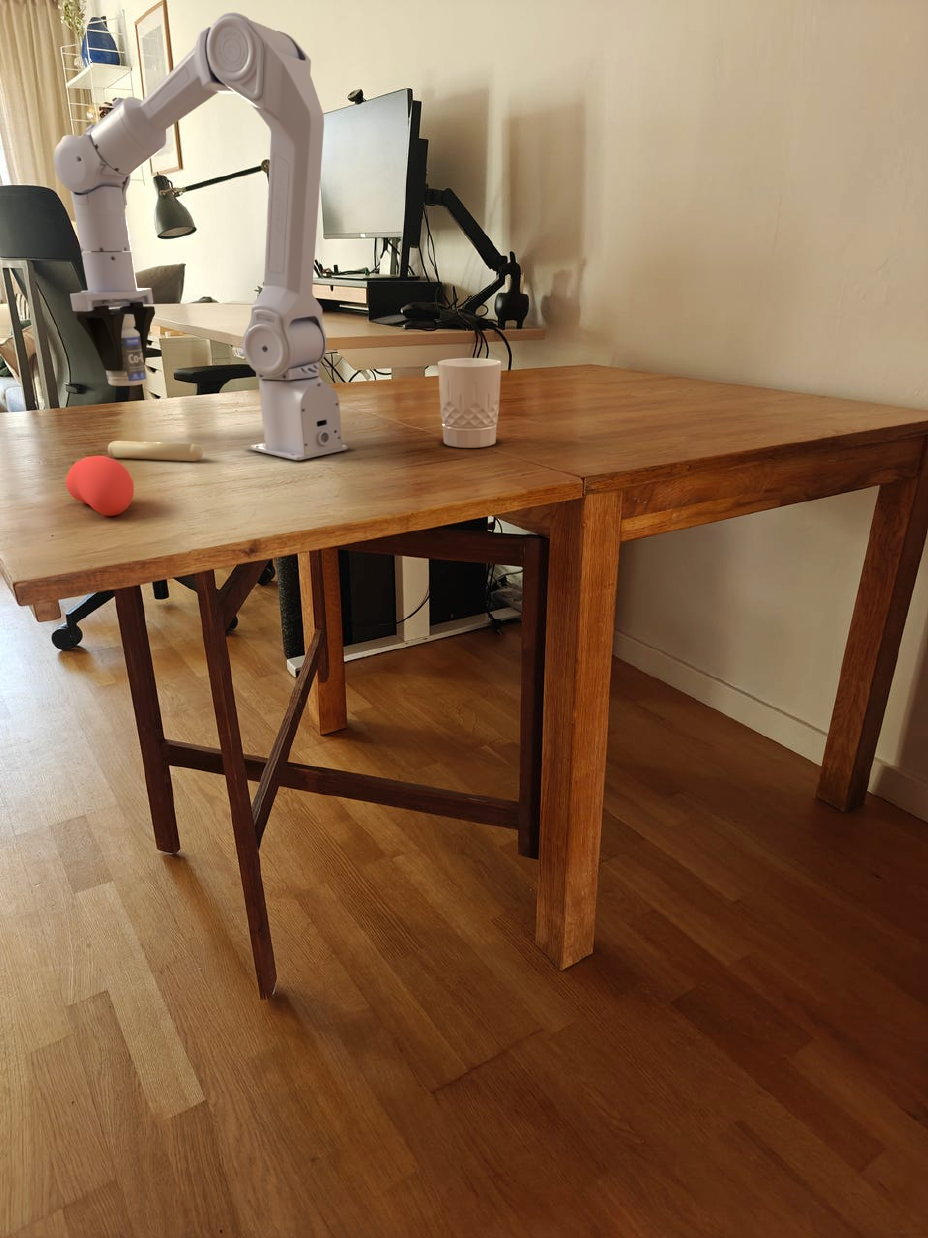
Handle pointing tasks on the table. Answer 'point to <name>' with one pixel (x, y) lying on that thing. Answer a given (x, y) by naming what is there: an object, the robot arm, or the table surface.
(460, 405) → the white cup
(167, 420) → the table surface
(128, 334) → the pill bottle
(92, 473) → the stress ball
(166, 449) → the dowel
